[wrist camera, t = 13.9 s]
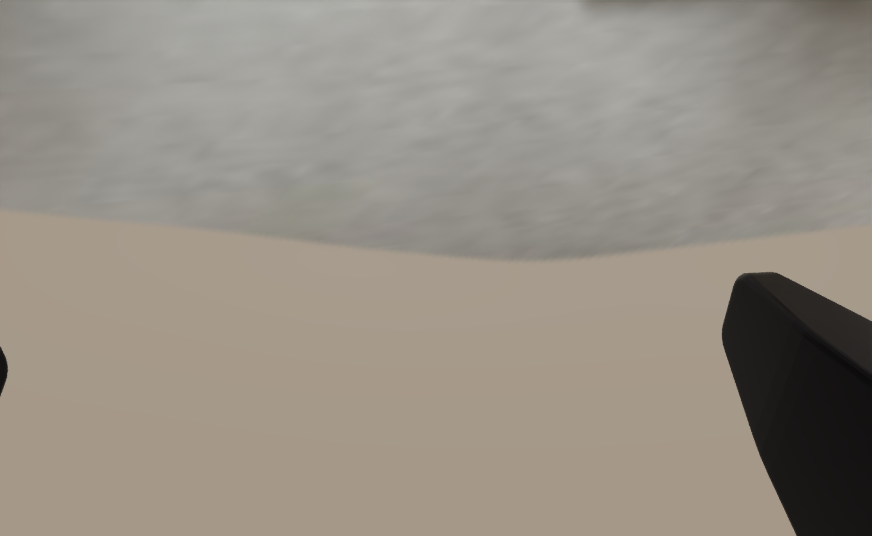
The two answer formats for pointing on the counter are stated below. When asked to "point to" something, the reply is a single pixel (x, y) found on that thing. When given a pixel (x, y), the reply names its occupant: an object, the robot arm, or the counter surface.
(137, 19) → the counter surface
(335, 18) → the counter surface
